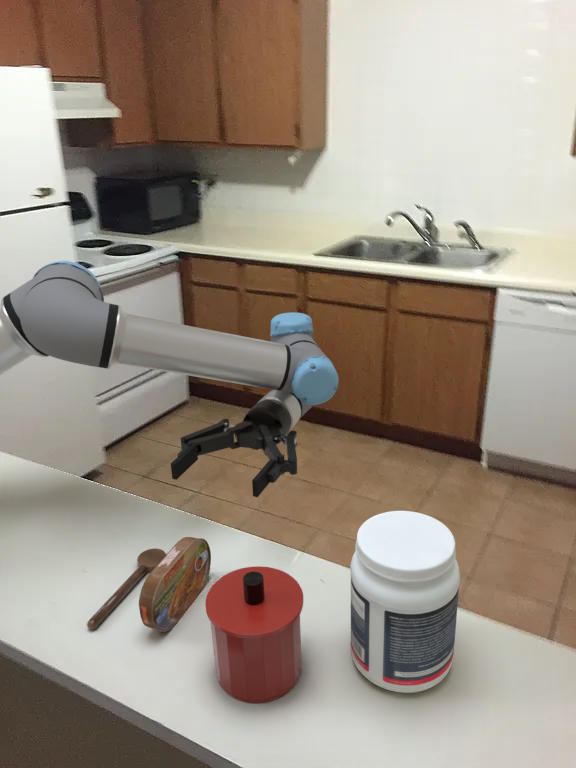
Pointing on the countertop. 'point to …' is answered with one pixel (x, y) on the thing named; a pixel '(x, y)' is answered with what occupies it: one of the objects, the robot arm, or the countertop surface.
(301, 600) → the pot lid
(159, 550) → the spoon
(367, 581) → the supplement tub
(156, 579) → the tin
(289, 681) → the pot
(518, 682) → the countertop surface
